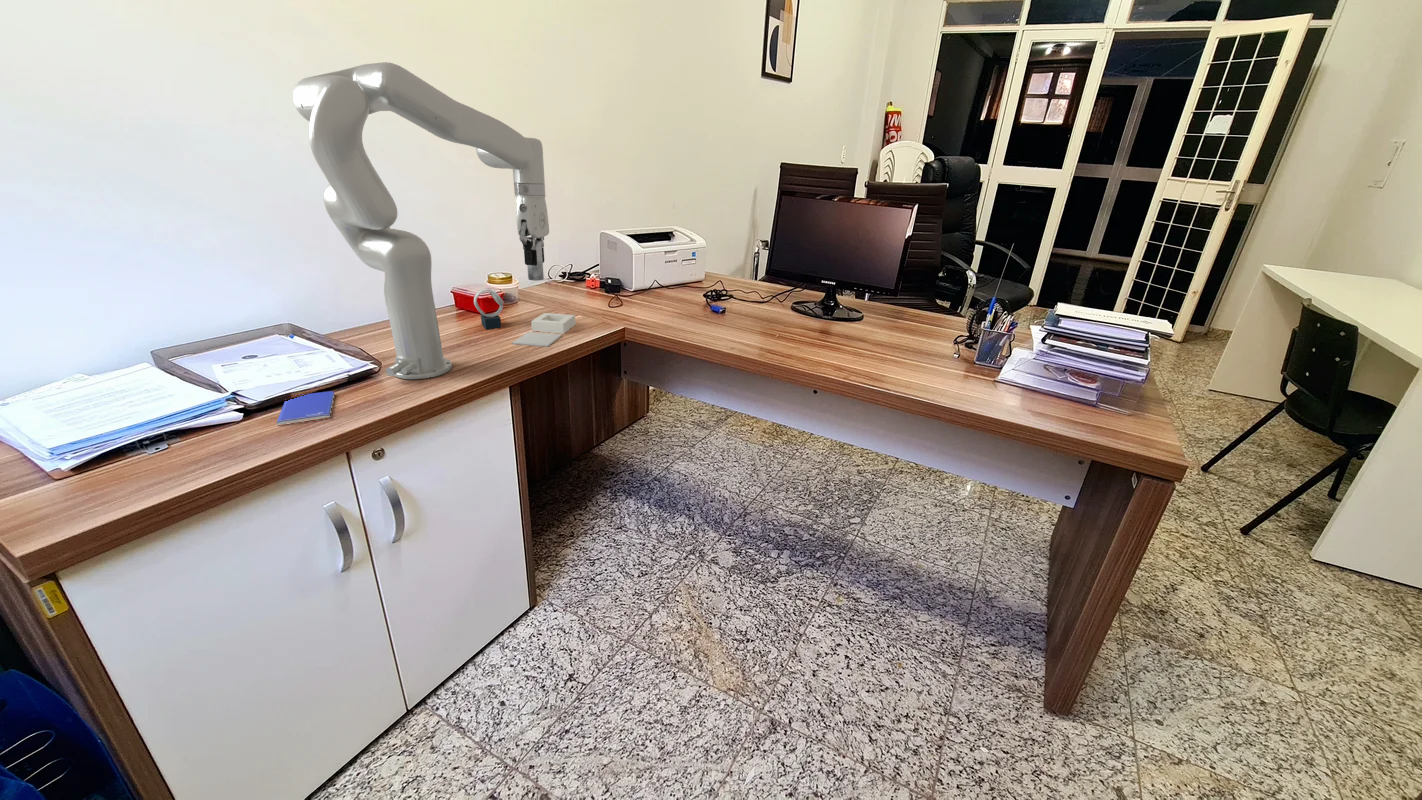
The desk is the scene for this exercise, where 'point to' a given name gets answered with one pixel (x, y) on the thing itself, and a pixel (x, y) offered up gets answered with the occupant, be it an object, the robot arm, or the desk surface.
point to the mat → (537, 339)
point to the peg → (537, 271)
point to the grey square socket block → (553, 323)
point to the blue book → (306, 407)
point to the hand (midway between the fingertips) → (534, 262)
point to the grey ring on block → (491, 319)
